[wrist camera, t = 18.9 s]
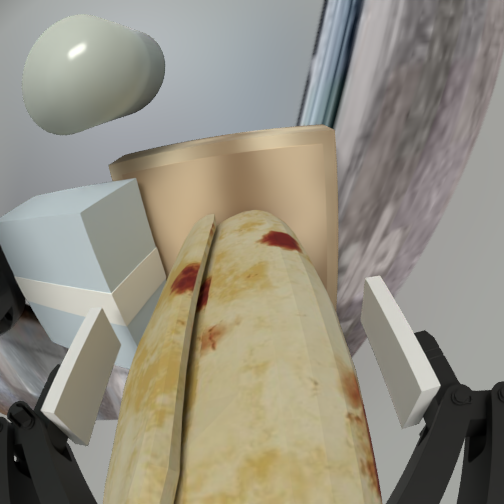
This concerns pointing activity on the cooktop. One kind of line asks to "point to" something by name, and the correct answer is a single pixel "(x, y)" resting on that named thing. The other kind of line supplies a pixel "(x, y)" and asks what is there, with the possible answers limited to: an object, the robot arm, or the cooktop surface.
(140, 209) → the flat box
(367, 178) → the cooktop surface
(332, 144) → the tan square plate
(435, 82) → the cooktop surface
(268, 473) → the food model
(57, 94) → the pale green rounded knob
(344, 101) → the cooktop surface
